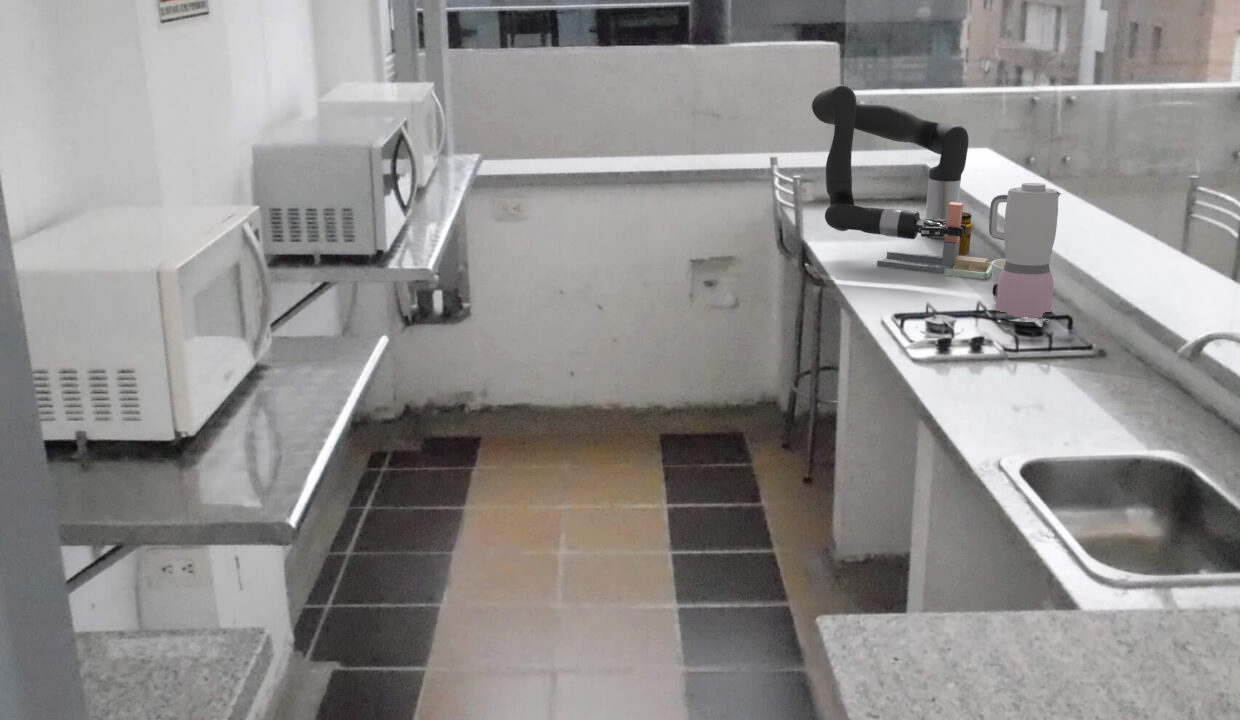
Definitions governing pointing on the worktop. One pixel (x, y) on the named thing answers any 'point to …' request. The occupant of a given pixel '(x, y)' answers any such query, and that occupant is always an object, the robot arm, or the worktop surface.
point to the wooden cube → (962, 263)
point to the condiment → (965, 234)
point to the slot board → (913, 262)
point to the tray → (970, 272)
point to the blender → (1026, 249)
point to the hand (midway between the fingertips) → (964, 230)
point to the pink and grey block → (951, 241)
